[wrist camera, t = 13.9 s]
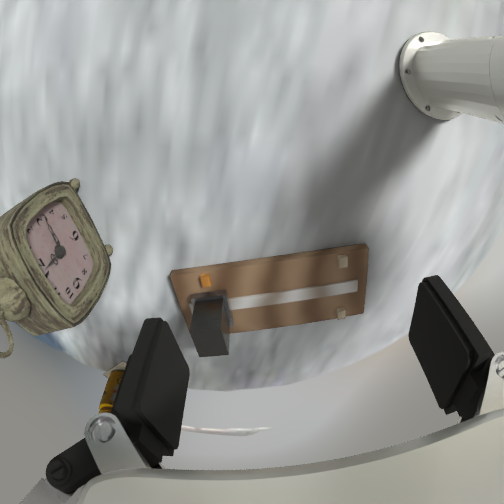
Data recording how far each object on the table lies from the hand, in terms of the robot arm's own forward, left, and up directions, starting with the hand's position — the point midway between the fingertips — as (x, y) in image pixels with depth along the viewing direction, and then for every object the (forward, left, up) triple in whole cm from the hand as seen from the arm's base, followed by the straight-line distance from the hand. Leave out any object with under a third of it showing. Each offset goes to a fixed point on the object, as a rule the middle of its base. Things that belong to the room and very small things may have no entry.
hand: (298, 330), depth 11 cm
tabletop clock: (+26, +4, -29) cm, 40 cm away
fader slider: (+9, +20, -27) cm, 35 cm away
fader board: (0, +20, -29) cm, 35 cm away
